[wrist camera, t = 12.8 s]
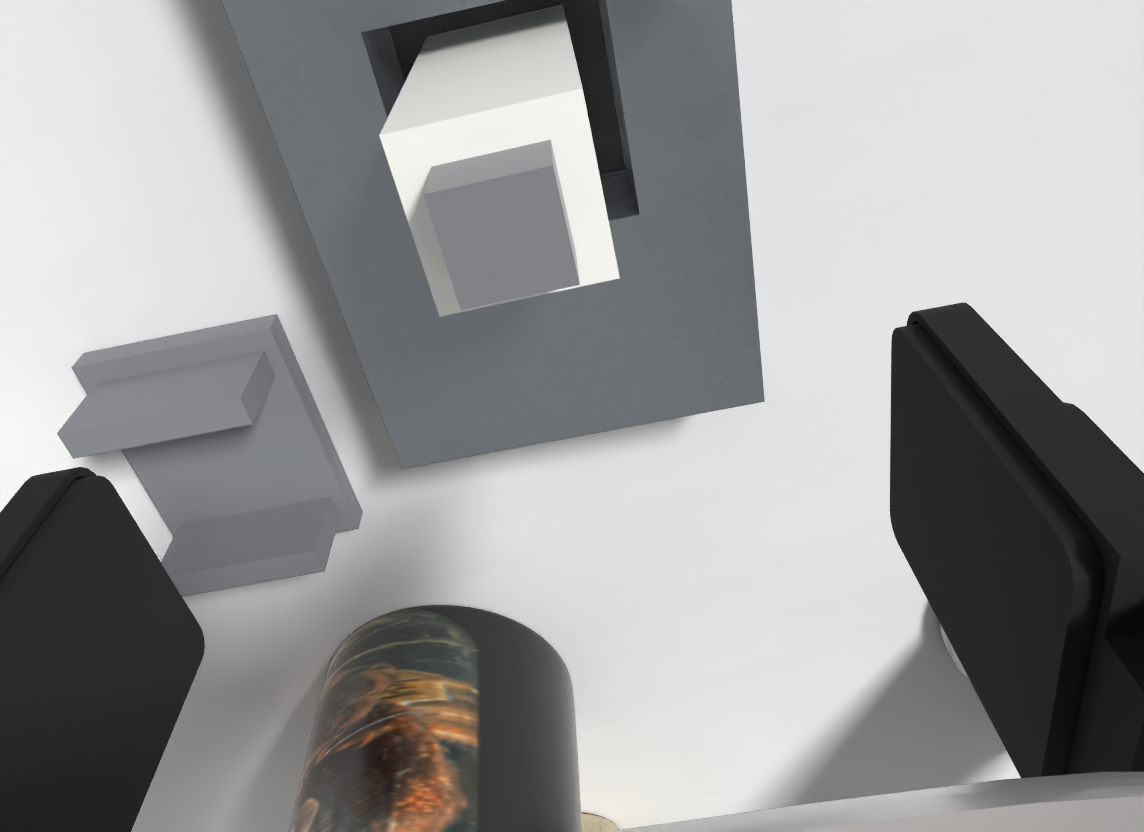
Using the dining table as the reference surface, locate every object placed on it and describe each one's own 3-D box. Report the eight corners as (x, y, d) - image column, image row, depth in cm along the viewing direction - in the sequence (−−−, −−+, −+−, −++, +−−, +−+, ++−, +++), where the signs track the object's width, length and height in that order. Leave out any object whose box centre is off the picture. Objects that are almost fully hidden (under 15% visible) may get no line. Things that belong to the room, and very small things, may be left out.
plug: (589, 142, 27) (627, 312, 17) (465, 170, 27) (433, 353, 18) (562, 4, 25) (587, 110, 15) (427, 36, 25) (366, 161, 15)
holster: (362, 511, 35) (345, 583, 31) (195, 542, 35) (161, 616, 32) (276, 314, 30) (245, 374, 26) (83, 353, 30) (29, 416, 27)
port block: (738, 340, 31) (767, 408, 27) (414, 403, 32) (400, 476, 28) (665, -405, 20) (697, -459, 16) (171, -280, 21) (96, -306, 17)
